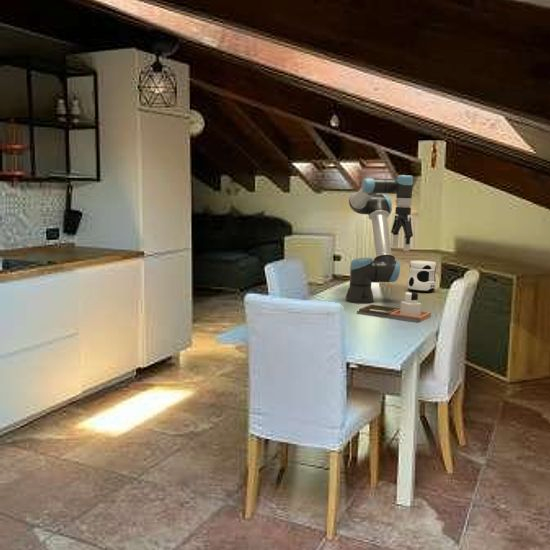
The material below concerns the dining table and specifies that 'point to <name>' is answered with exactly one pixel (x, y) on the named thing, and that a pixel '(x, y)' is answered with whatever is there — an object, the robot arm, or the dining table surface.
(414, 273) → the milk container
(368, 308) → the frame
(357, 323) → the dining table surface
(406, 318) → the rail bar
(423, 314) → the frame
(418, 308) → the medicine bottle
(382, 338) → the dining table surface
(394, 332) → the dining table surface
